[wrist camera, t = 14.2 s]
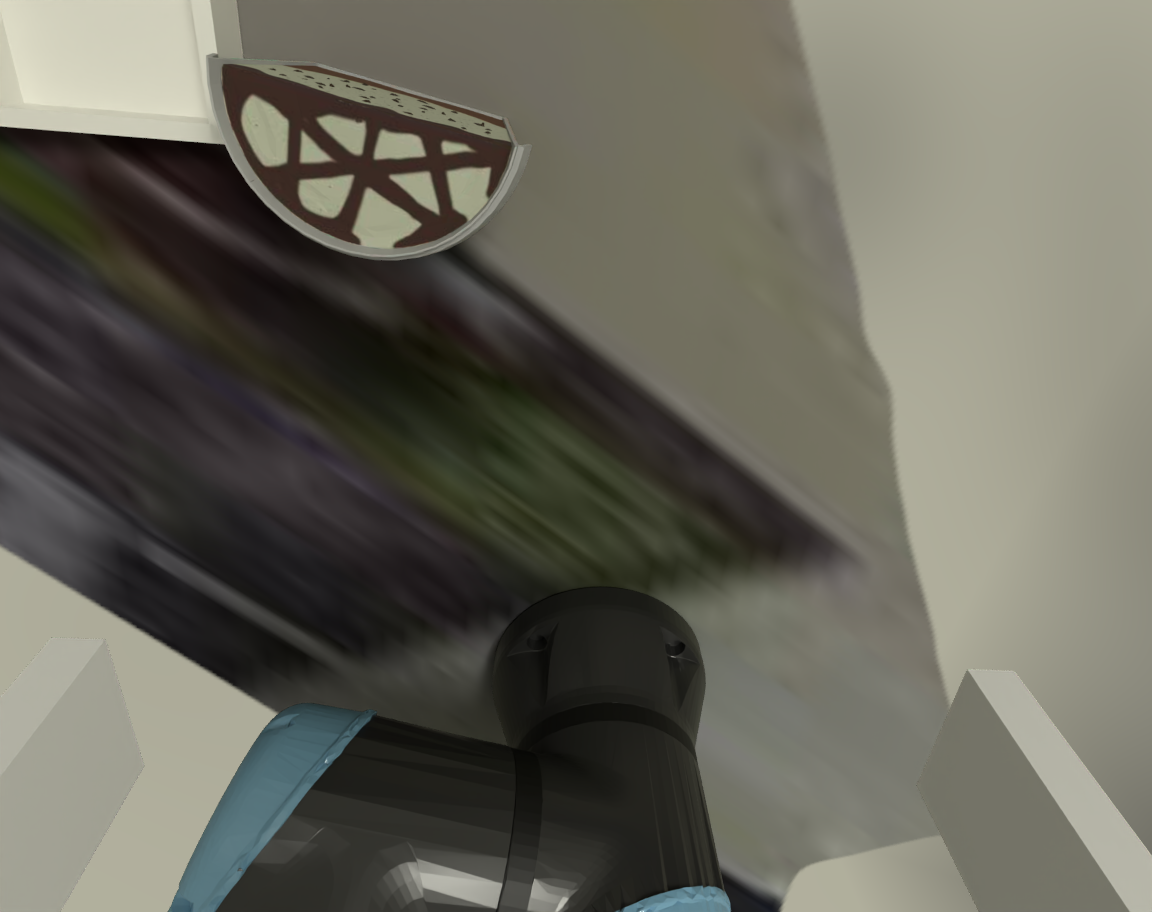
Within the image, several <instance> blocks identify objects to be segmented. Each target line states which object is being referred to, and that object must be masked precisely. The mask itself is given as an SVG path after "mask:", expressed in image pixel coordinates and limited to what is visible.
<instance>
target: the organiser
mask: <svg viewBox="0 0 1152 912" xmlns="http://www.w3.org/2000/svg"><path fill="white" fill-rule="evenodd" d="M212 53H215V54H218V58H237V59H244V58H243V50H242V42H241V33H240V25H239V17H238V9H237V0H0V126H3V127H15V128H28V129H40V130H52V131H65V132H77V133H90V134H102V135H115V136H127V137H140V138H152V139H165V140H177V141H189V142H202V143H214V144H224V142H223V140H222V138H221V135H220V132H219V129H218V126H217V123H216V120H215V117H214V114H213V111H212V106H211V101H210V95H209V90H208V85H207V69H206V55H209V54H212Z"/></svg>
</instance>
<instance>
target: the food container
mask: <svg viewBox="0 0 1152 912" xmlns="http://www.w3.org/2000/svg"><path fill="white" fill-rule="evenodd" d="M206 69H207V85H208V90H209V95H210V101H211V106H212V111H213V114H214V117H215V120H216V123H217V126H218V129H219V132H220V135H221V138H222V140H223V142H224V144H225V146H226V148H227V150H228V152H229V154H230V156H231V158H232V160H233V162H234V164H235V165H236V167H237V168H238V170H239V171H240V173H241V174H242V176H243V177H244V179H245V180H246V182H247V183H248V185H249V186H250V187H251V188H252V190H253V191H254V192H255V193H256V194H257V195H258V197H259V198H260V199H261V200H262V201H263V202H264V204H265V205H266V206H267V207H268V208H270V209H271V210H272V211H273V212H274V213H275V214H276V215H277V216H278V217H279V218H281V219H282V220H283V221H284V222H285V223H286V224H288V225H289V226H291V227H292V228H294V229H295V230H297V231H298V232H300V233H301V234H302V235H304V236H305V237H307V238H309V239H311V240H313V241H315V242H317V243H319V244H321V245H323V246H325V247H327V248H329V249H332V250H335V251H338V252H341V253H344V254H347V255H350V256H355V257H361V258H366V259H372V260H403V259H410V258H418V257H423V256H428V255H431V254H434V253H437V252H441V251H444V250H447V249H449V248H451V247H453V246H455V245H457V244H459V243H461V242H463V241H465V240H467V239H468V238H470V237H471V236H472V235H474V234H475V233H476V232H478V231H479V230H480V229H482V228H483V227H484V226H486V225H487V224H488V223H489V221H490V220H491V219H492V218H493V217H494V216H495V215H496V214H497V213H498V212H499V211H500V210H501V209H502V208H503V206H504V205H505V203H506V202H507V200H508V199H509V197H510V196H511V194H512V193H513V192H514V190H515V188H516V186H517V184H518V182H519V180H520V178H521V176H522V174H523V172H524V169H525V167H526V164H527V161H528V158H529V154H530V151H531V148H532V145H531V144H526V145H518V143H517V141H516V138H515V136H514V133H513V131H512V128H511V126H510V123H509V121H508V119H507V118H505V117H501V116H498V115H495V114H491V113H488V112H484V111H481V110H477V109H474V108H471V107H467V106H464V105H460V104H457V103H454V102H450V101H447V100H443V99H440V98H436V97H433V96H430V95H426V94H423V93H419V92H416V91H412V90H409V89H406V88H402V87H399V86H395V85H392V84H389V83H385V82H382V81H378V80H375V79H371V78H368V77H365V76H361V75H358V74H354V73H351V72H348V71H344V70H341V69H337V68H334V67H330V66H327V65H324V64H320V63H317V62H307V61H284V60H261V59H237V58H218V54H215V53H212V54H209V55H206Z"/></svg>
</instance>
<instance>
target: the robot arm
mask: <svg viewBox="0 0 1152 912" xmlns="http://www.w3.org/2000/svg"><path fill="white" fill-rule="evenodd" d="M705 686H706V681H705V669H704V664H703V660H702V656H701V652H700V648H699V644H698V641H697V638H696V636H695V634H694V632H693V631H692V629H691V627H690V626H689V625H688V623H687V622H686V621H685V620H684V619H683V618H682V617H681V616H680V615H679V614H678V613H677V612H676V611H675V610H673V609H672V608H671V607H669V606H668V605H666V604H664V603H663V602H661V601H659V600H657V599H655V598H653V597H650V596H648V595H645V594H642V593H639V592H635V591H631V590H627V589H620V588H610V587H592V588H583V589H576V590H572V591H567V592H564V593H560V594H557V595H554V596H552V597H549V598H547V599H545V600H543V601H541V602H539V603H537V604H535V605H534V606H532V607H530V608H529V609H528V610H526V611H525V612H523V613H522V614H521V615H520V616H519V617H518V618H517V619H516V620H514V622H513V623H512V624H511V625H510V626H509V627H508V629H507V630H506V631H505V633H504V635H503V636H502V638H501V640H500V642H499V645H498V647H497V650H496V654H495V660H494V670H493V681H492V690H493V699H494V703H495V707H496V710H497V713H498V716H499V719H500V722H501V725H502V728H503V732H504V735H505V738H506V741H507V744H508V746H506V745H501V744H497V743H492V742H487V741H483V740H478V739H474V738H469V737H465V736H460V735H455V734H451V733H447V732H443V731H439V730H435V729H430V728H426V727H422V726H418V725H414V724H410V723H406V722H401V721H397V720H393V719H389V718H385V717H381V716H377V711H374V710H366V711H364V712H360V711H354V710H349V709H343V708H337V707H331V706H326V705H320V704H314V703H301V704H297V705H294V706H291V707H289V708H287V709H285V710H283V711H282V712H280V713H279V714H278V715H276V716H275V717H274V718H273V719H272V720H271V721H270V723H268V725H267V726H266V727H265V728H264V730H263V731H262V732H261V733H260V735H259V737H258V738H257V739H256V741H255V742H254V744H253V745H252V747H251V748H250V750H249V752H248V753H247V755H246V757H245V758H244V760H243V761H242V763H241V765H240V766H239V768H238V770H237V772H236V773H235V775H234V777H233V779H232V780H231V782H230V784H229V786H228V787H227V789H226V791H225V793H224V795H223V796H222V798H221V800H220V802H219V804H218V806H217V808H216V810H215V811H214V813H213V815H212V817H211V819H210V821H209V823H208V825H207V827H206V829H205V830H204V832H203V834H202V837H201V838H200V840H199V842H198V844H197V846H196V848H195V851H194V853H193V855H192V857H191V859H190V861H189V863H188V865H187V868H186V870H185V872H184V874H183V876H182V879H181V881H180V883H179V889H178V891H177V893H176V895H175V897H174V900H173V902H172V905H171V907H170V909H169V910H168V912H730V911H731V909H730V901H729V898H728V897H727V895H726V892H725V891H724V886H723V882H722V877H721V872H720V867H719V862H718V858H717V853H716V848H715V843H714V838H713V834H712V829H711V824H710V819H709V814H708V810H707V805H706V800H705V795H704V790H703V786H702V781H701V776H700V771H699V767H698V762H697V757H696V752H695V745H696V739H697V733H698V728H699V722H700V717H701V711H702V706H703V700H704V694H705ZM143 767H144V763H143V760H142V756H141V753H140V750H139V747H138V743H137V740H136V737H135V734H134V730H133V727H132V724H131V721H130V717H129V714H128V711H127V708H126V704H125V701H124V698H123V694H122V691H121V688H120V685H119V682H118V678H117V675H116V672H115V668H114V665H113V662H112V658H111V655H110V652H109V649H108V645H107V642H106V639H87V638H85V639H84V638H57V637H52V638H51V639H50V640H49V641H48V642H47V643H46V644H45V646H44V647H43V648H42V649H41V650H40V652H39V653H38V654H37V655H36V656H35V657H34V658H33V660H32V661H31V662H30V663H29V664H28V666H26V668H25V669H24V670H23V671H22V672H21V673H20V675H19V676H18V677H17V678H16V679H15V680H14V682H13V683H12V684H11V685H10V686H9V687H8V689H7V690H6V691H5V692H4V693H3V694H2V696H1V697H0V912H61V910H62V908H63V906H64V904H65V903H66V901H67V899H68V898H69V896H70V894H71V892H72V891H73V889H74V887H75V885H76V884H77V882H78V880H79V878H80V877H81V875H82V873H83V872H84V870H85V868H86V866H87V865H88V863H89V861H90V859H91V858H92V856H93V854H94V852H95V851H96V849H97V847H98V845H99V844H100V842H101V840H102V839H103V837H104V835H105V833H106V832H107V830H108V828H109V826H110V825H111V823H112V821H113V819H114V818H115V816H116V814H117V812H118V811H119V809H120V807H121V805H122V804H123V802H124V800H125V799H126V797H127V795H128V793H129V792H130V790H131V788H132V786H133V785H134V783H135V781H136V779H137V778H138V776H139V774H140V773H141V771H142V769H143ZM916 786H917V788H918V790H919V792H920V794H921V796H922V798H923V800H924V802H925V804H926V806H927V808H928V810H929V812H930V814H931V816H932V818H933V820H934V822H935V824H936V826H937V828H938V830H939V832H940V834H941V836H942V838H943V840H944V842H945V844H946V846H947V848H948V851H949V852H950V855H951V857H952V859H953V860H954V863H955V865H956V867H957V869H958V871H959V873H960V875H961V877H962V879H963V881H964V883H965V885H966V887H967V889H968V891H969V893H970V895H971V897H972V899H973V901H974V903H975V905H976V907H977V909H978V911H979V912H1152V855H1151V854H1150V853H1149V851H1148V850H1147V849H1146V847H1145V846H1144V845H1143V843H1142V842H1141V841H1140V839H1139V838H1138V837H1137V835H1136V834H1135V833H1134V831H1133V830H1132V829H1131V827H1130V826H1129V825H1128V823H1127V822H1126V820H1125V819H1124V818H1123V816H1122V815H1121V814H1120V812H1119V811H1118V810H1117V808H1116V807H1115V806H1114V804H1113V803H1112V802H1111V800H1110V799H1109V798H1108V796H1107V795H1106V794H1105V792H1104V791H1103V790H1102V788H1101V787H1100V786H1099V784H1098V783H1097V781H1096V780H1095V779H1094V777H1093V776H1092V775H1091V773H1090V772H1089V771H1088V769H1087V768H1086V767H1085V765H1084V764H1083V763H1082V761H1081V760H1080V759H1079V757H1078V756H1077V755H1076V753H1075V752H1074V751H1073V749H1072V748H1071V747H1070V745H1069V744H1068V743H1067V741H1066V740H1065V738H1064V737H1063V736H1062V734H1061V733H1060V732H1059V730H1058V729H1057V728H1056V727H1055V725H1054V724H1053V722H1052V721H1051V720H1050V718H1049V717H1048V716H1047V714H1046V713H1045V712H1044V710H1043V709H1042V708H1041V706H1040V705H1039V704H1038V702H1037V701H1036V700H1035V698H1034V697H1033V695H1032V694H1031V693H1030V691H1029V690H1028V689H1027V687H1026V686H1025V685H1024V683H1023V682H1022V681H1021V679H1020V678H1019V677H1018V675H1017V674H1016V673H1015V671H1005V670H976V669H967V671H966V673H965V676H964V678H963V680H962V682H961V685H960V687H959V689H958V692H957V694H956V696H955V698H954V701H953V703H952V705H951V708H950V710H949V712H948V714H947V717H946V719H945V721H944V724H943V726H942V728H941V730H940V733H939V735H938V737H937V740H936V742H935V744H934V746H933V749H932V751H931V753H930V756H929V758H928V760H927V762H926V765H925V767H924V769H923V772H922V774H921V776H920V778H919V781H918V783H917V785H916Z"/></svg>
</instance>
